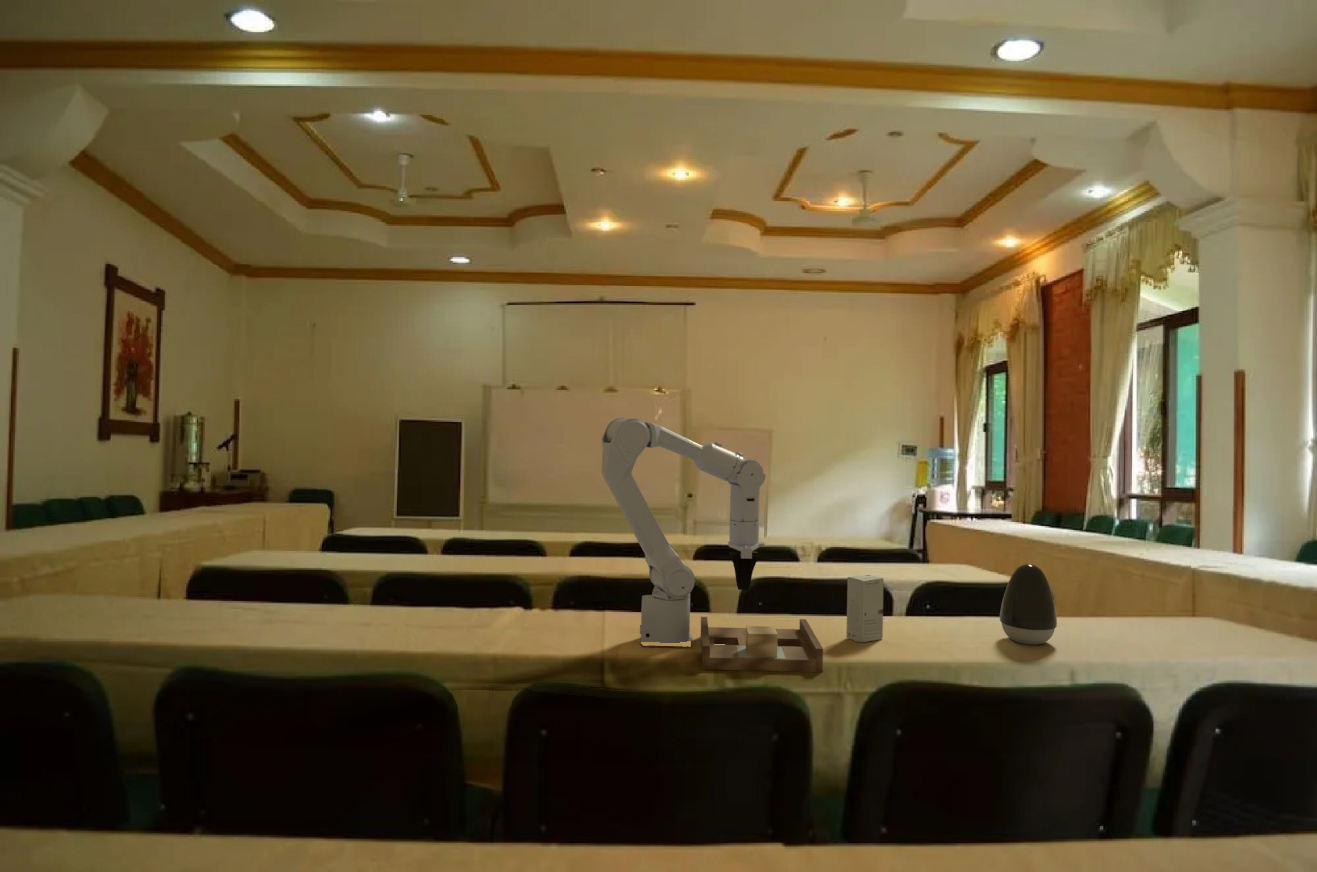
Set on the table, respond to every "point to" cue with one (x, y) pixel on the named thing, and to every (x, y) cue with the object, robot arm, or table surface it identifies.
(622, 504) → the robot arm
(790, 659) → the trap board
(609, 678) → the table surface
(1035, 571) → the two-tone egg figurine
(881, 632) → the skincare box
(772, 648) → the maple block
